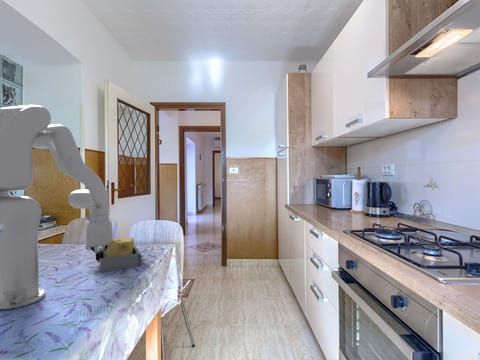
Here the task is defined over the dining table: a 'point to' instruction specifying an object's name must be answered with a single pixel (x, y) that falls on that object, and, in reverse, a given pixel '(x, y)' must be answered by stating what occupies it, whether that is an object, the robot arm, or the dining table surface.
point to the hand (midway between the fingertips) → (99, 261)
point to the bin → (120, 261)
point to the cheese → (120, 247)
